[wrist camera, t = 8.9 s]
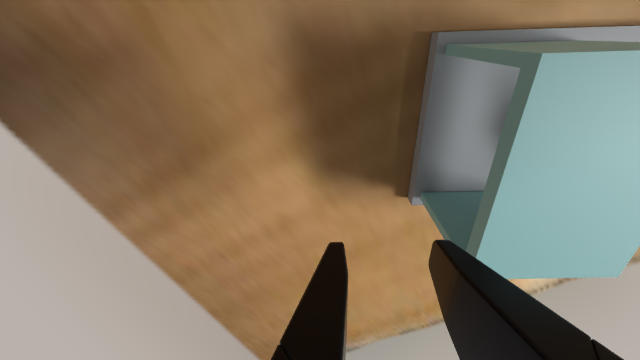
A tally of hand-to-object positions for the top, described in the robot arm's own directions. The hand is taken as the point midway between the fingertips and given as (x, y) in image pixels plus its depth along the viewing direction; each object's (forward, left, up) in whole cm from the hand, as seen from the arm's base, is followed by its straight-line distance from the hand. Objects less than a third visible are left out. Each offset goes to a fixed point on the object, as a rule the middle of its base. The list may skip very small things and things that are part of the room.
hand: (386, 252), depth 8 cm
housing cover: (-9, 0, -10) cm, 13 cm away
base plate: (-13, 0, -12) cm, 17 cm away
